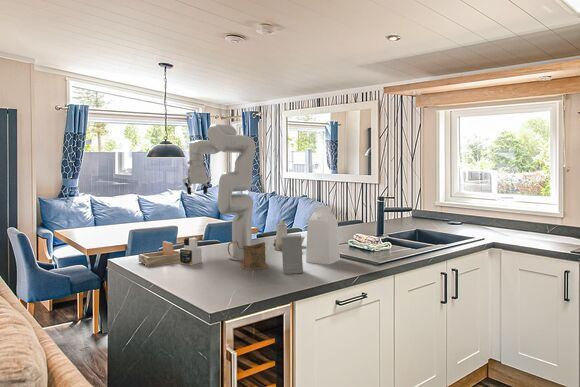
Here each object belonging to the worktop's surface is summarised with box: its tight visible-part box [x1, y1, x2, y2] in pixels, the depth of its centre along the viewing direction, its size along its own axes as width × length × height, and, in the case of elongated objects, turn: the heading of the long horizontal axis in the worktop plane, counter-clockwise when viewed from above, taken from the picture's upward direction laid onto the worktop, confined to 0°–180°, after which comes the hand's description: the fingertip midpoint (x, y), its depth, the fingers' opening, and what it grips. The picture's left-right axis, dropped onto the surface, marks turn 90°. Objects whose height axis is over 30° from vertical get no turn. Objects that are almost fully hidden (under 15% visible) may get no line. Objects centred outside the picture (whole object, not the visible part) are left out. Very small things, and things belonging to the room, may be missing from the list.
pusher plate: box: [162, 240, 174, 255], centre depth 214 cm, size 9×1×8 cm, turn 39°
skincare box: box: [281, 233, 304, 275], centre depth 185 cm, size 8×7×16 cm
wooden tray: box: [138, 249, 180, 267], centre depth 213 cm, size 12×18×4 cm, turn 129°
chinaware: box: [271, 218, 305, 251], centre depth 244 cm, size 28×17×17 cm, turn 171°
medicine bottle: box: [179, 236, 203, 266], centre depth 209 cm, size 7×7×12 cm
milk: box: [305, 204, 341, 265], centre depth 208 cm, size 12×12×26 cm
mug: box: [227, 241, 269, 271], centre depth 197 cm, size 12×18×12 cm, turn 111°
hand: (197, 194), depth 251 cm, fingers open, 9 cm apart
